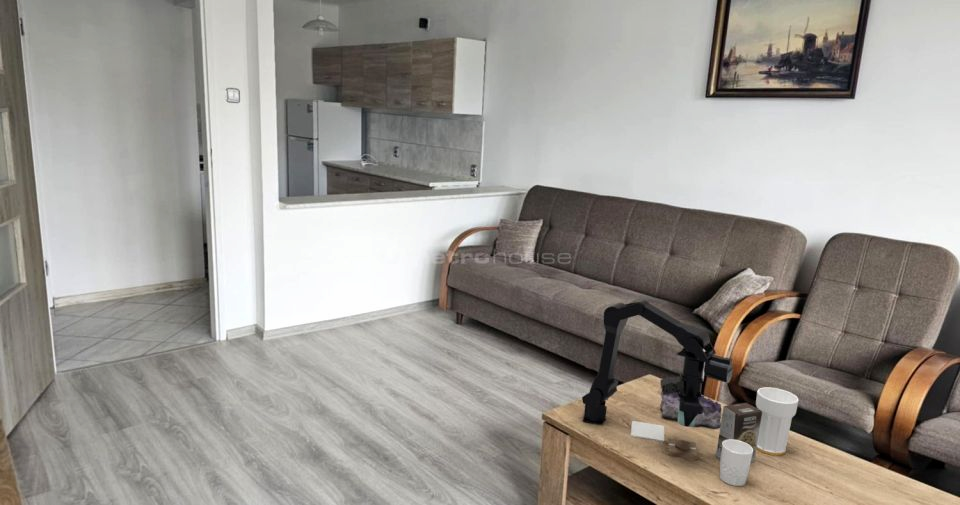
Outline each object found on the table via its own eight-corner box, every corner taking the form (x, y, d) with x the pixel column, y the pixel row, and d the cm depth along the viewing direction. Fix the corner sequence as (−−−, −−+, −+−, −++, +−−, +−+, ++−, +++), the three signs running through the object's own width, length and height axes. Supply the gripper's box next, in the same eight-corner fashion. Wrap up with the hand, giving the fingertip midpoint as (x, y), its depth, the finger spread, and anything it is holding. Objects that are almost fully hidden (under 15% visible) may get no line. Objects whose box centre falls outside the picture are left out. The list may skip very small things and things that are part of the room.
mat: (630, 436, 195) (630, 434, 195) (631, 421, 204) (632, 420, 204) (664, 441, 192) (664, 440, 192) (663, 427, 202) (663, 426, 202)
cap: (676, 424, 184) (678, 409, 183) (675, 417, 188) (677, 403, 187) (696, 428, 182) (698, 413, 181) (695, 420, 187) (697, 406, 186)
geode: (722, 419, 210) (727, 393, 207) (718, 437, 200) (723, 410, 197) (660, 402, 219) (664, 377, 215) (653, 419, 209) (657, 393, 205)
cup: (789, 444, 195) (798, 392, 191) (789, 461, 185) (799, 406, 181) (749, 435, 199) (757, 384, 196) (748, 451, 189) (756, 397, 186)
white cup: (750, 489, 169) (756, 456, 167) (719, 485, 170) (724, 451, 168) (744, 474, 177) (749, 441, 175) (715, 469, 178) (720, 437, 176)
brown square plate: (668, 455, 184) (669, 447, 184) (667, 442, 192) (668, 434, 191) (696, 460, 182) (697, 452, 182) (695, 447, 190) (696, 439, 189)
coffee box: (730, 467, 180) (738, 415, 176) (714, 455, 186) (722, 405, 182) (755, 462, 183) (763, 411, 180) (738, 451, 189) (746, 401, 186)
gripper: (663, 357, 193) (657, 404, 196) (664, 380, 175) (657, 432, 178) (701, 362, 190) (695, 410, 193) (706, 386, 172) (699, 439, 176)
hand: (686, 422), depth 185 cm, fingers closed on cap, 5 cm apart
